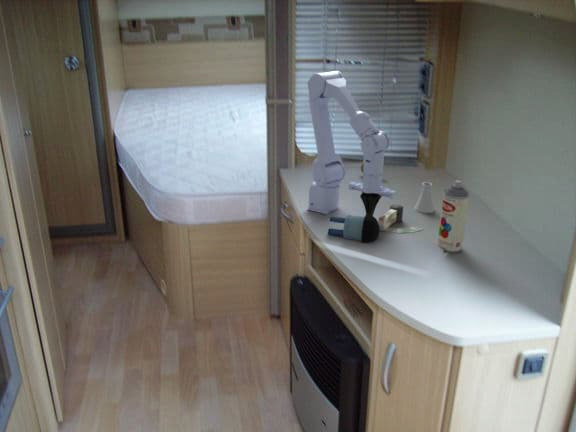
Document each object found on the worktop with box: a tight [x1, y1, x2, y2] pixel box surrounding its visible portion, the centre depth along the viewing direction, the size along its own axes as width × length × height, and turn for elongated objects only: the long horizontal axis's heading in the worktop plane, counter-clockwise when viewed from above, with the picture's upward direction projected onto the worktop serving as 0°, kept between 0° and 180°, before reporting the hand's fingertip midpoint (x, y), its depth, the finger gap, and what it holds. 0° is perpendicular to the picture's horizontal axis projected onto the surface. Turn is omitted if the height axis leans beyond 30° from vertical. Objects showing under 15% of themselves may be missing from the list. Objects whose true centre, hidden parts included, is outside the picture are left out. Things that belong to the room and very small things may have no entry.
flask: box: [413, 181, 435, 214], centre depth 192 cm, size 7×7×10 cm
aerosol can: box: [437, 179, 470, 255], centre depth 165 cm, size 7×7×20 cm
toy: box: [327, 214, 381, 244], centre depth 171 cm, size 8×9×15 cm
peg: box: [377, 204, 404, 232], centre depth 180 cm, size 14×4×5 cm, turn 147°
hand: (369, 215), depth 181 cm, fingers closed
